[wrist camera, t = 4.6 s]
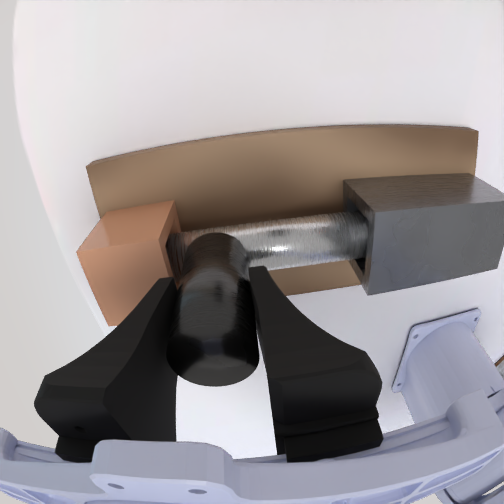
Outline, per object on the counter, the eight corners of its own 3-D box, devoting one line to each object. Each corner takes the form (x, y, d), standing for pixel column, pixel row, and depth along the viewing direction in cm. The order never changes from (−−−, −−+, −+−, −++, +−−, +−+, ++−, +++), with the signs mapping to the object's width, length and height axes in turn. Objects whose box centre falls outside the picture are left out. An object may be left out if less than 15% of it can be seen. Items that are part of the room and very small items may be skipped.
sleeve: (460, 233, 19) (497, 268, 15) (342, 250, 19) (367, 295, 15) (469, 173, 17) (514, 200, 13) (343, 179, 17) (375, 212, 13)
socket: (190, 269, 19) (182, 320, 15) (128, 277, 19) (108, 326, 15) (174, 200, 17) (158, 239, 13) (106, 211, 17) (76, 252, 13)
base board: (450, 259, 21) (457, 266, 20) (137, 303, 21) (134, 312, 20) (469, 127, 16) (478, 131, 15) (92, 161, 16) (85, 166, 15)
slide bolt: (379, 244, 18) (449, 342, 11) (152, 273, 18) (118, 390, 11) (383, 195, 16) (471, 281, 9) (137, 225, 16) (84, 334, 9)
